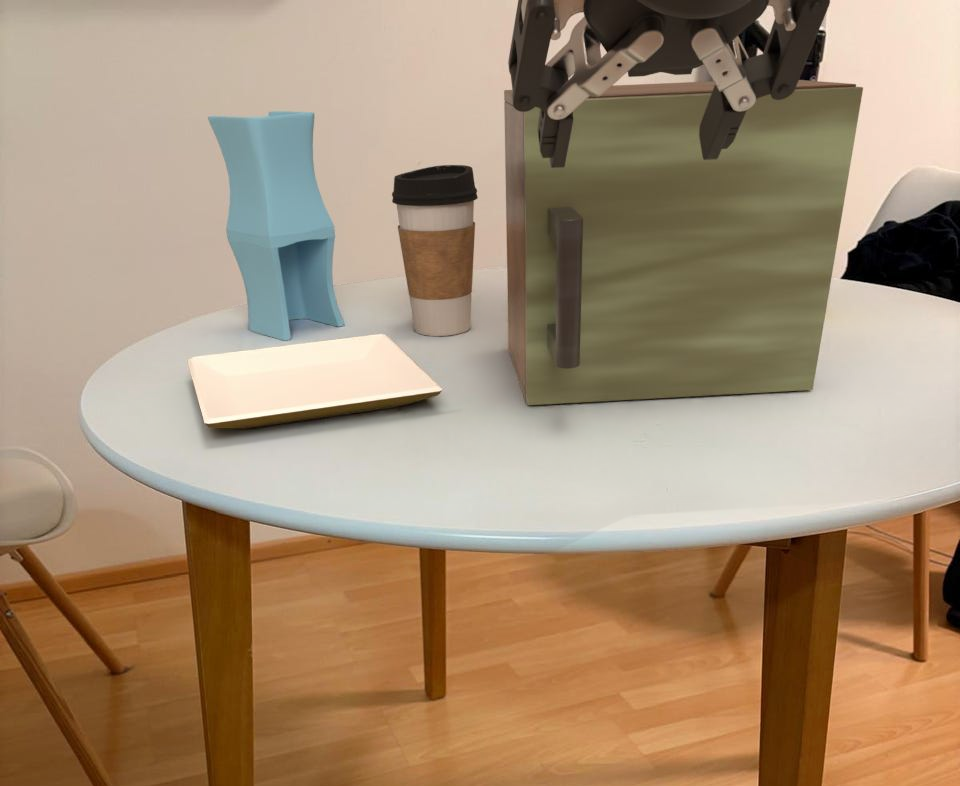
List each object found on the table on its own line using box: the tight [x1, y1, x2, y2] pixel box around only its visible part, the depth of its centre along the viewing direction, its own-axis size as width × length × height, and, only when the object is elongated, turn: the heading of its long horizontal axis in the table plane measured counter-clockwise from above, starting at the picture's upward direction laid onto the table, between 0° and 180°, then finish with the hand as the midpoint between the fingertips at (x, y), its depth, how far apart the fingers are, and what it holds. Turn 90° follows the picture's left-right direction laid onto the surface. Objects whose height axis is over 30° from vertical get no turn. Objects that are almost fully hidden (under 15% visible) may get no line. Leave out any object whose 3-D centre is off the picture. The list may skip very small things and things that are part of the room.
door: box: [524, 86, 864, 406], centre depth 66 cm, size 7×24×21 cm, turn 93°
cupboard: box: [503, 79, 857, 403], centre depth 76 cm, size 16×24×22 cm
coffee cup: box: [391, 164, 479, 337], centre depth 92 cm, size 8×8×15 cm
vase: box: [207, 110, 346, 342], centre depth 93 cm, size 8×8×20 cm
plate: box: [187, 333, 443, 430], centre depth 78 cm, size 19×19×2 cm
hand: (631, 150), depth 50 cm, fingers open, 8 cm apart
